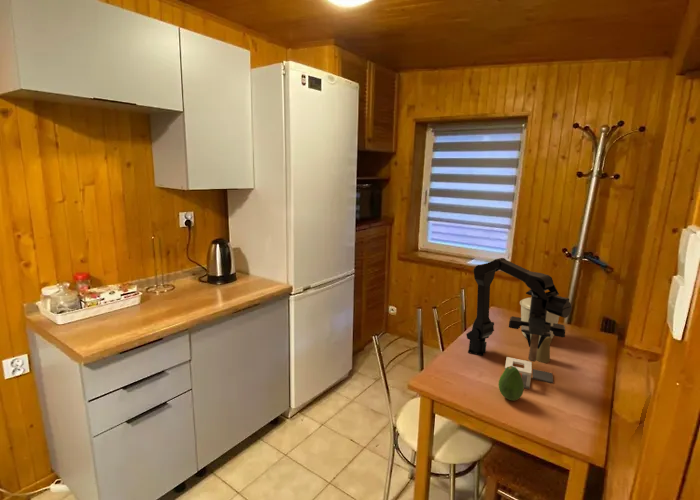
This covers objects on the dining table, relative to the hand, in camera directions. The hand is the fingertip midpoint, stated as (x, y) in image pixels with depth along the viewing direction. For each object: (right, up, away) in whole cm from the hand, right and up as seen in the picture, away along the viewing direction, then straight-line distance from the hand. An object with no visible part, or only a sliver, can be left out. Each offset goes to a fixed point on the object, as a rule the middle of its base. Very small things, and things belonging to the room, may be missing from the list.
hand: (533, 347), depth 147 cm
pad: (+6, -13, +4) cm, 14 cm away
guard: (-6, -13, +2) cm, 14 cm away
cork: (+12, -10, +18) cm, 23 cm away
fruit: (-13, -16, -9) cm, 23 cm away
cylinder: (0, -5, +1) cm, 5 cm away
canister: (+19, -5, +38) cm, 43 cm away
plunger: (-6, -12, +2) cm, 13 cm away
